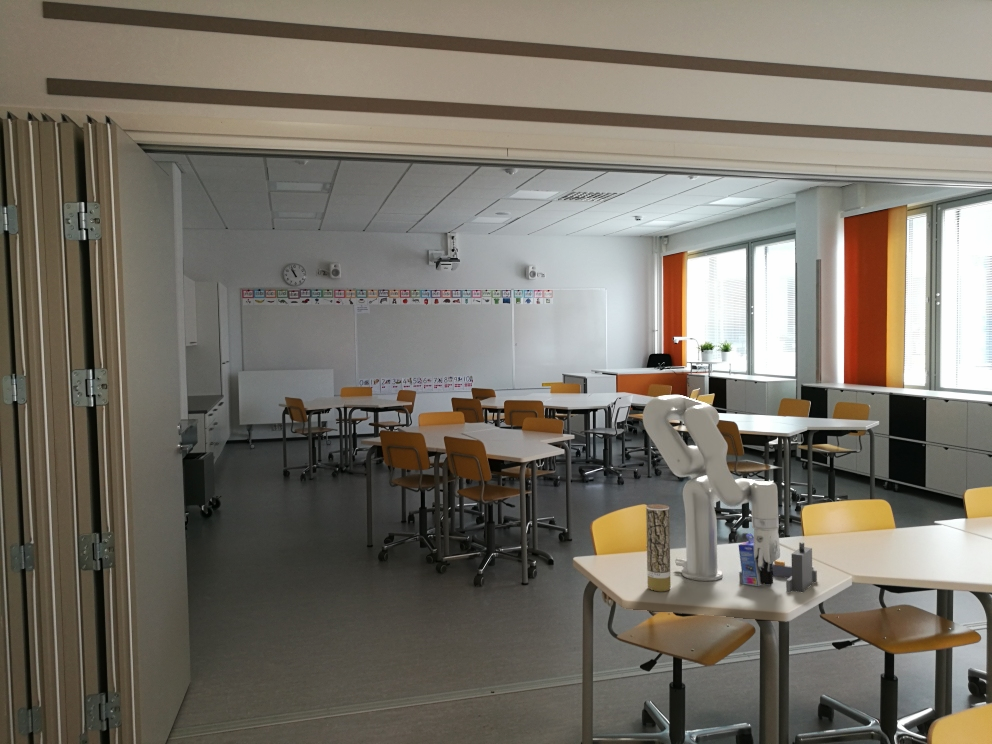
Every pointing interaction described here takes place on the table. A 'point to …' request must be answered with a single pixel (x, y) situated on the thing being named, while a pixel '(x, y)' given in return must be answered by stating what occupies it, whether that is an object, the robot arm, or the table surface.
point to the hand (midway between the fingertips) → (767, 583)
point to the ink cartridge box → (749, 563)
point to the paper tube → (658, 547)
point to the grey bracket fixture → (795, 570)
